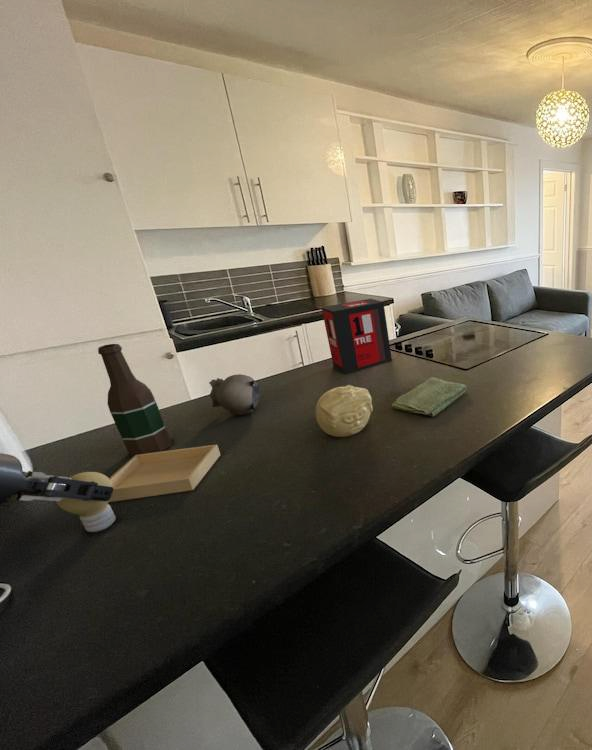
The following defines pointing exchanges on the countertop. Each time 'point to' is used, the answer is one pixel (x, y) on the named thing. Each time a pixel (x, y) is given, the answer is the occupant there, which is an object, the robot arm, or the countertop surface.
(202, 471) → the pale tray
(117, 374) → the beer bottle
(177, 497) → the countertop surface
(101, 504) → the light bulb
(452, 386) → the washcloth
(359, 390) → the sculpture
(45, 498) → the robot arm
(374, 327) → the cleaning product box
